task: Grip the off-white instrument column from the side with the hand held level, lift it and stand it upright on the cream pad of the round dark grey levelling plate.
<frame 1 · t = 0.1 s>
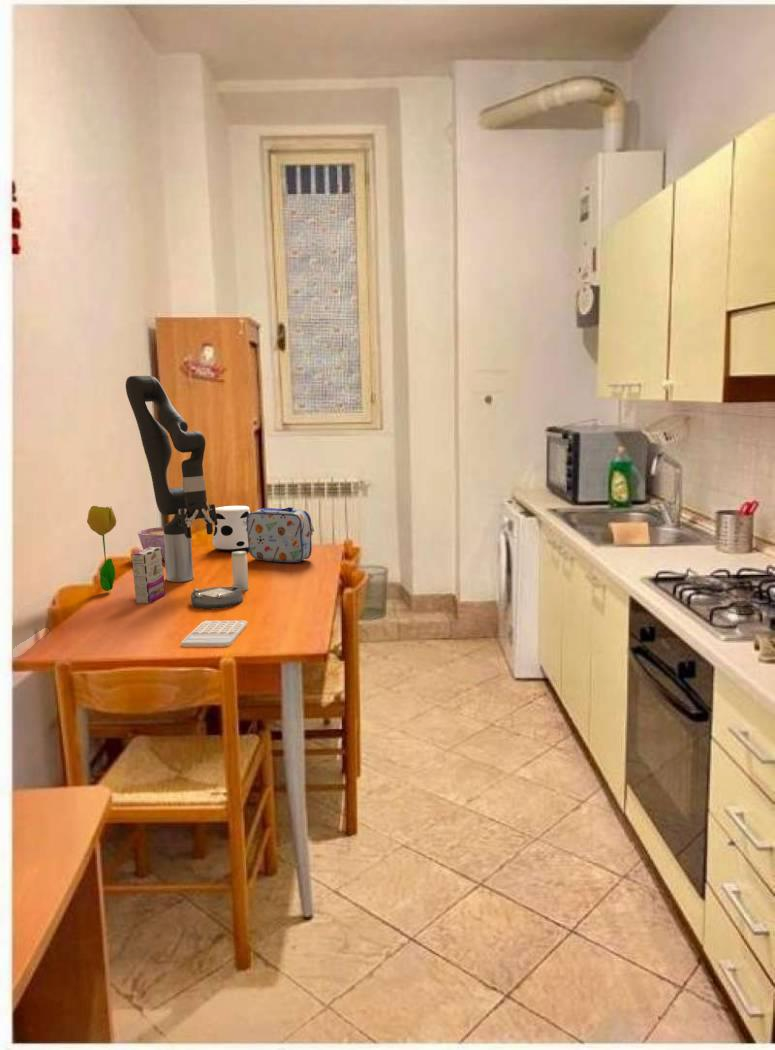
hand: (199, 536, 265), 17 cm above the table, tool pointing down, fingers open, 8 cm apart
candy bar box: (150, 600, 249), on the table
milk container: (233, 550, 329), on the table
lunch box: (282, 561, 304), on the table
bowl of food: (165, 558, 314), on the table
flower: (108, 593, 260), on the table
calculator: (215, 637, 210), on the table
instrument column: (241, 589, 259), on the table
base plate: (217, 602, 244), on the table
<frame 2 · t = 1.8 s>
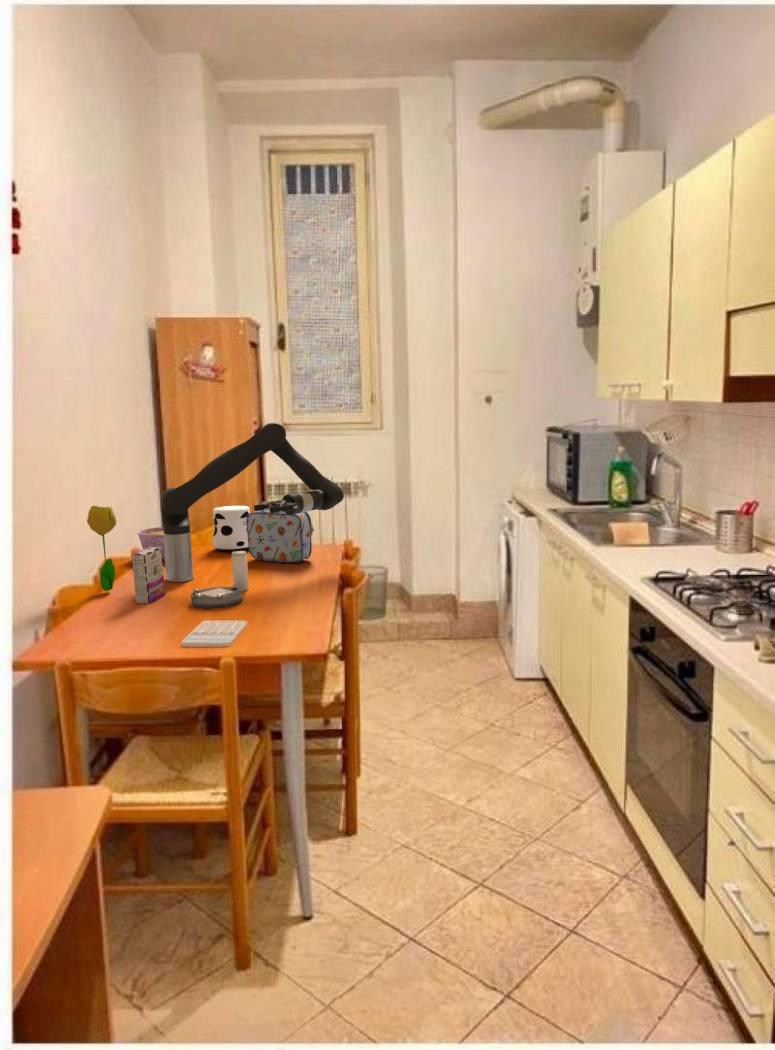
hand: (262, 509, 263), 26 cm above the table, tool horizontal, fingers open, 8 cm apart
nothing on the table moved.
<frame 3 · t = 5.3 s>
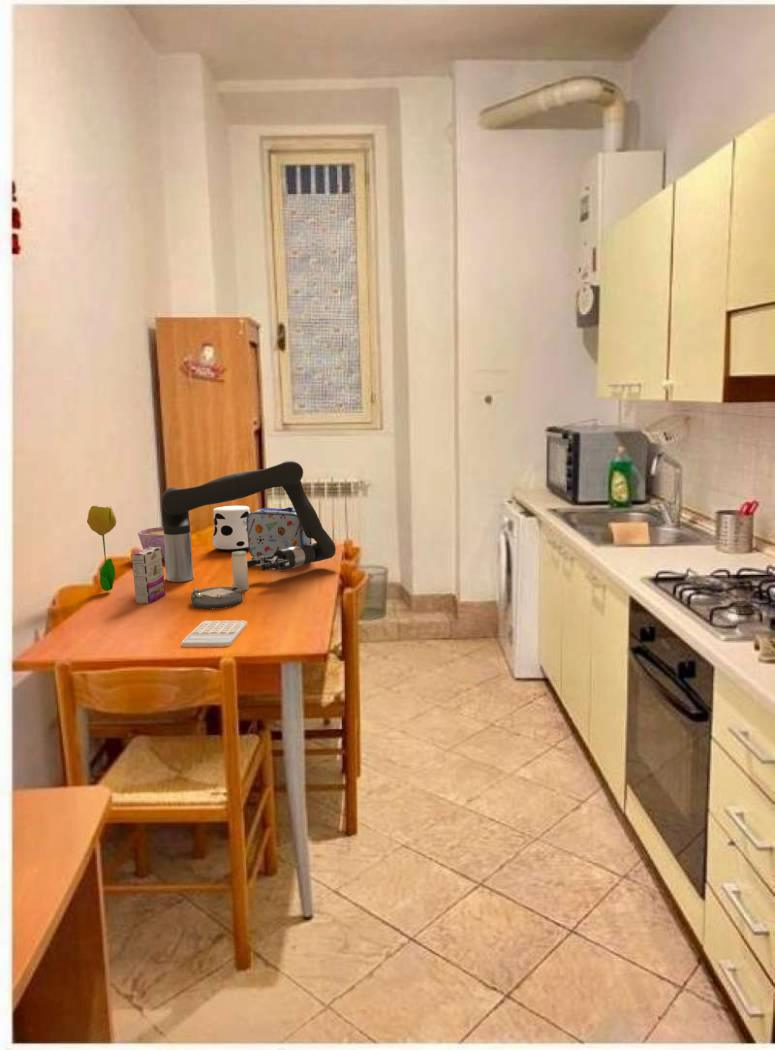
hand: (253, 566, 263), 7 cm above the table, tool horizontal, fingers open, 8 cm apart
nothing on the table moved.
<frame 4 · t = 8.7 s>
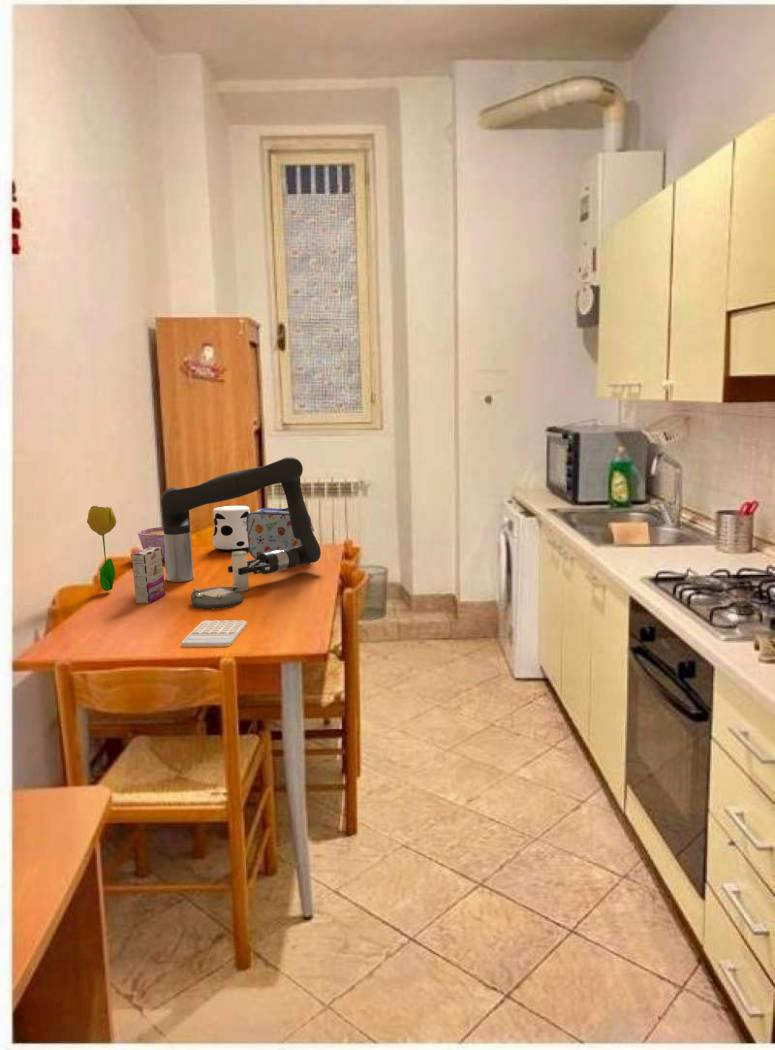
hand: (233, 570, 256), 7 cm above the table, tool horizontal, fingers closed on instrument column, 5 cm apart
instrument column: (241, 589, 259), on the table, touching gripper
everything else where it was.
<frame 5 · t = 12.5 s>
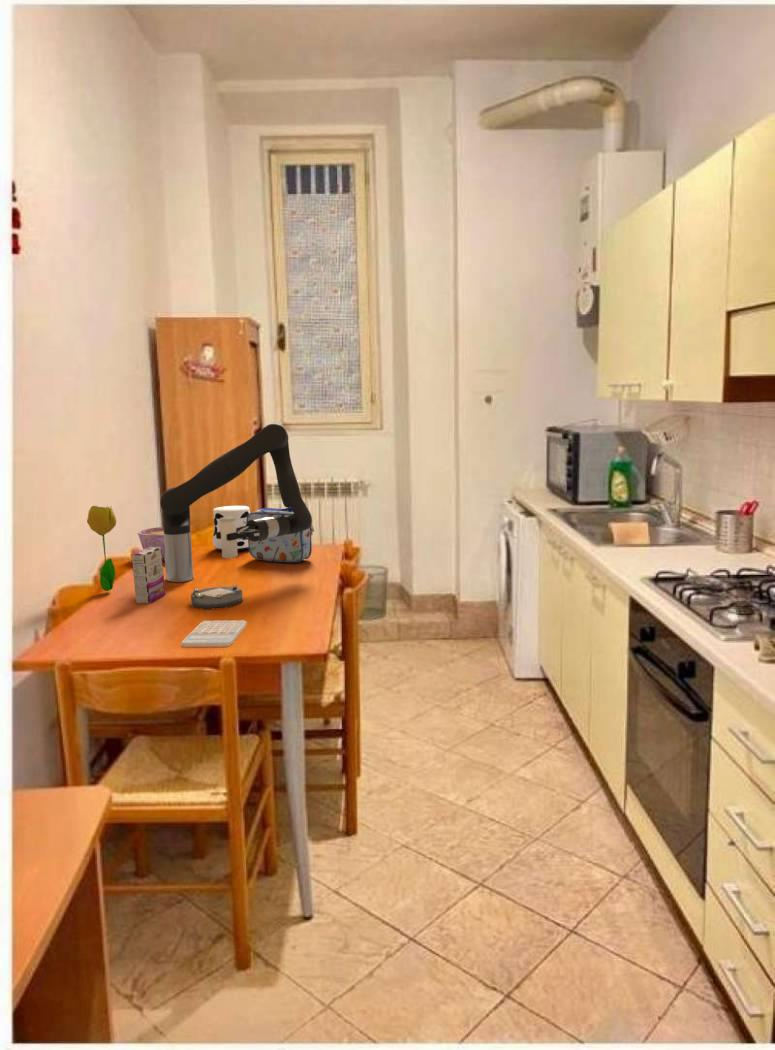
hand: (222, 536, 248), 20 cm above the table, tool horizontal, fingers closed on instrument column, 5 cm apart
instrument column: (229, 556, 251), point 13 cm above the table, touching gripper
everything else where it was.
when the fingers open (12 cm above the table, at t = 16.5 s): instrument column drops 2 cm, resting on base plate.
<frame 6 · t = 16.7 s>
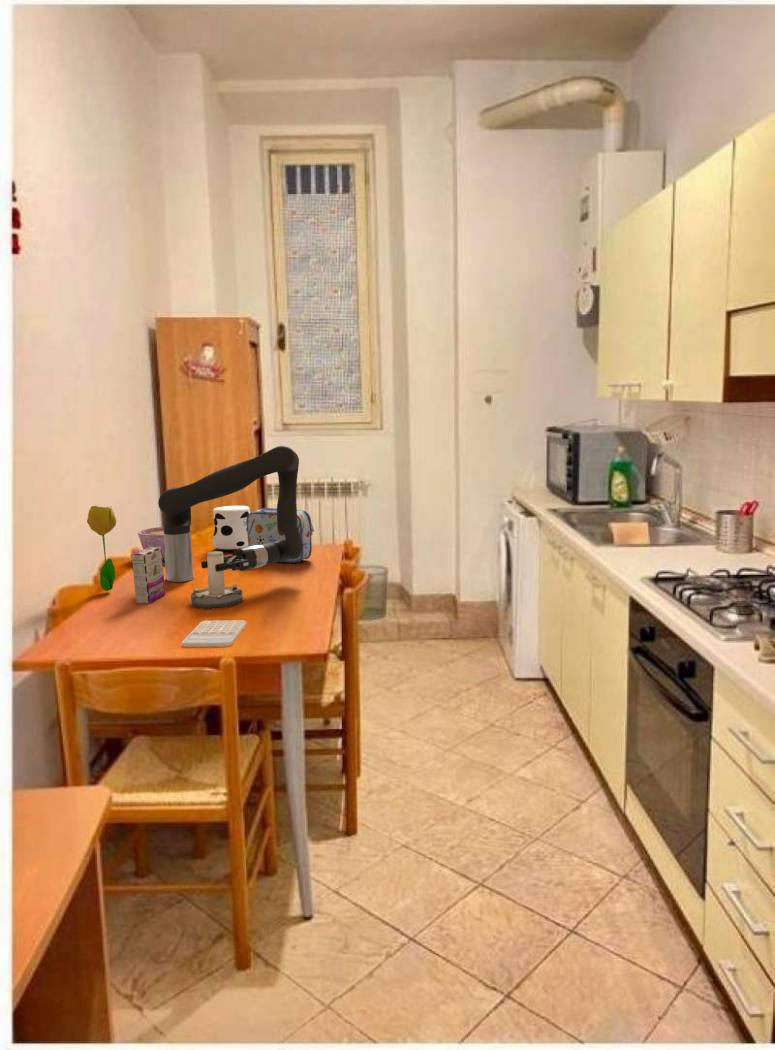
hand: (209, 566, 240), 12 cm above the table, tool horizontal, fingers open, 7 cm apart
instrument column: (216, 592, 243), point 3 cm above the table, touching base plate
everything else where it was.
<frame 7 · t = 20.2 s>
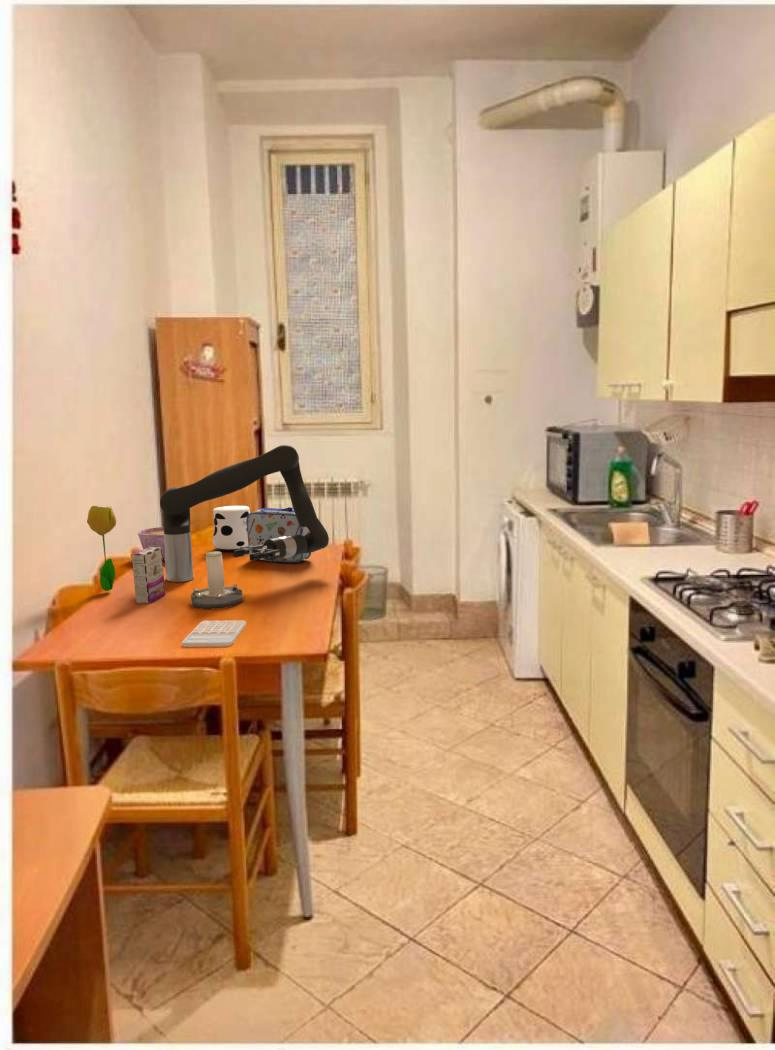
hand: (242, 555, 250), 13 cm above the table, tool horizontal, fingers open, 8 cm apart
nothing on the table moved.
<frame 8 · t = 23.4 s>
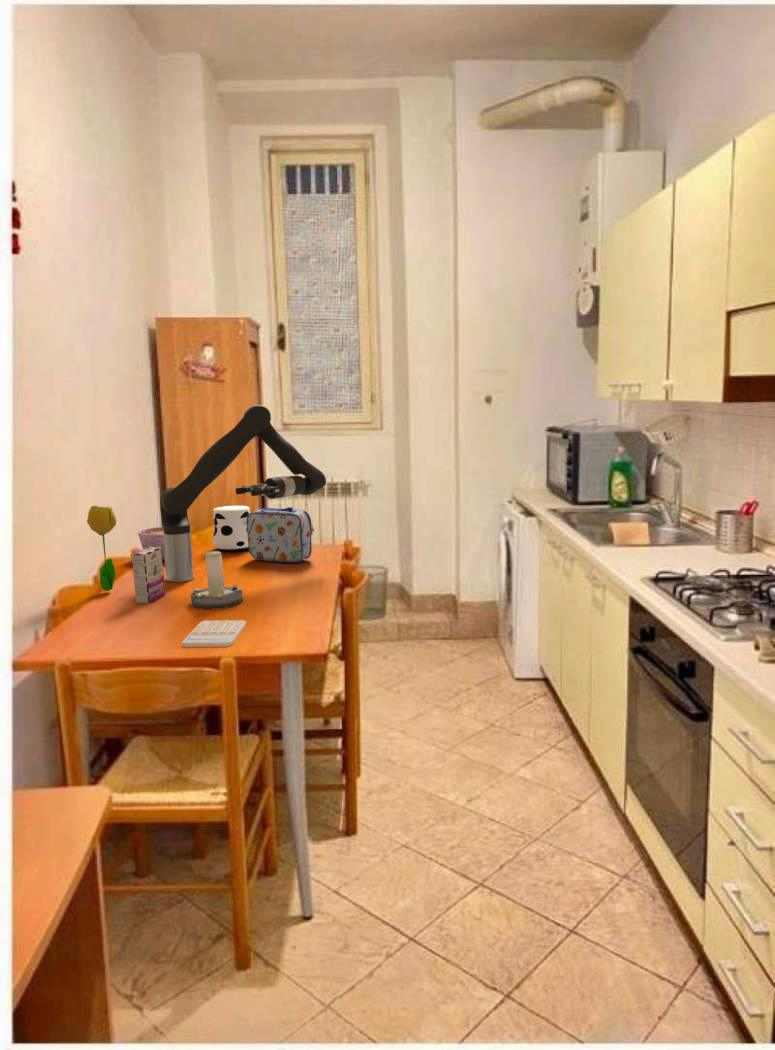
hand: (243, 492, 264), 32 cm above the table, tool horizontal, fingers open, 8 cm apart
nothing on the table moved.
at the end: instrument column inside the target area on the base plate (0.1 cm from its centre), point 3.3 cm above the base plate's base; instrument column tilted 2°; the gripper is holding nothing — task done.
